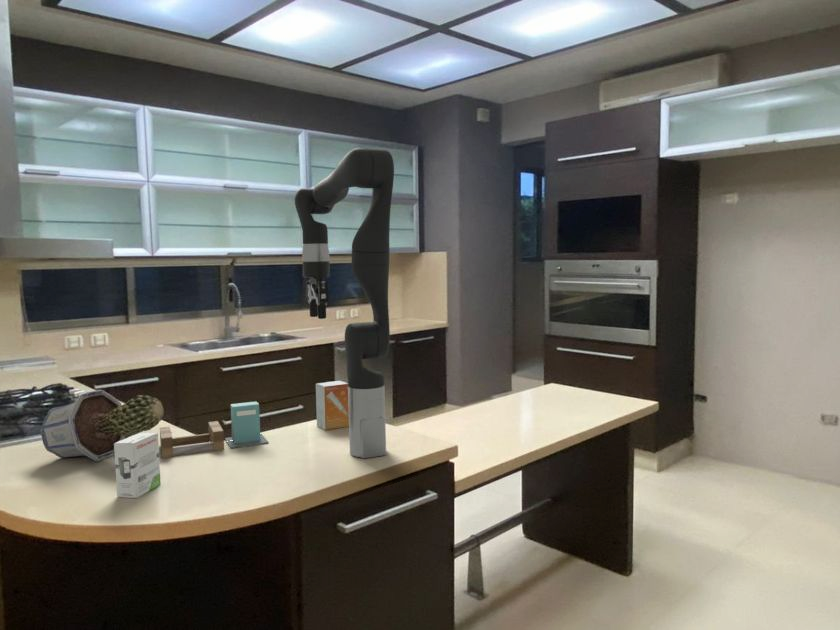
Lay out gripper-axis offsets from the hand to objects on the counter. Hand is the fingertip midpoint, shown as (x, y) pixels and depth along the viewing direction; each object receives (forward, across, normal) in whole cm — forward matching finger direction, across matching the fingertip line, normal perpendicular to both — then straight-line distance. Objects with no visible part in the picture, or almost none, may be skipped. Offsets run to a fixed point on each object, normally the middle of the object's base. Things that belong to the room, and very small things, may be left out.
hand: (317, 317), depth 175 cm
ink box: (+33, -27, +48) cm, 64 cm away
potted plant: (+33, +3, +55) cm, 64 cm away
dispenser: (+33, +2, +35) cm, 48 cm away
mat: (+33, +1, +21) cm, 39 cm away
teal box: (+33, +1, +21) cm, 39 cm away
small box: (+33, +5, -5) cm, 34 cm away
